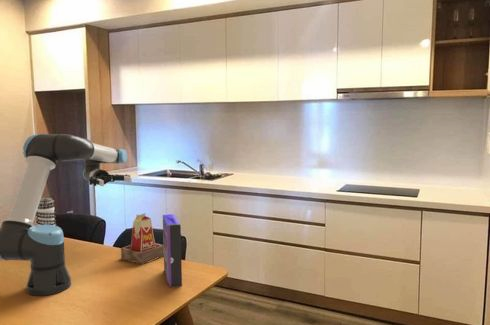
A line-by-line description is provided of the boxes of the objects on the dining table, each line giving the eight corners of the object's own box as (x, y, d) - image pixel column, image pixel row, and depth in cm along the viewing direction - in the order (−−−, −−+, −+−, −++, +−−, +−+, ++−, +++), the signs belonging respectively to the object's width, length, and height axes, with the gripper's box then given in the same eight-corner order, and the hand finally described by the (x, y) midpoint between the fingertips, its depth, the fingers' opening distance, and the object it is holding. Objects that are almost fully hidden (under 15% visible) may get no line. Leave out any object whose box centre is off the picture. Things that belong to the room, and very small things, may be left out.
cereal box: (164, 270, 168) (162, 214, 166) (175, 269, 170) (174, 213, 167) (169, 287, 152) (167, 225, 149) (181, 285, 153) (180, 224, 151)
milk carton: (157, 255, 185) (156, 212, 183) (139, 260, 178) (138, 215, 176) (147, 250, 191) (145, 209, 189) (129, 255, 185) (127, 212, 183)
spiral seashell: (37, 246, 201) (34, 197, 198) (58, 244, 204) (55, 196, 202) (37, 252, 192) (33, 201, 190) (58, 249, 196) (55, 199, 193)
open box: (164, 255, 187) (164, 245, 186) (141, 264, 175) (141, 253, 175) (144, 250, 194) (143, 240, 194) (121, 258, 183) (121, 248, 182)
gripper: (123, 181, 213) (141, 186, 197) (75, 186, 197) (90, 192, 181) (122, 167, 212) (141, 171, 196) (74, 171, 196) (90, 176, 180)
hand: (117, 181), depth 189 cm, fingers open, 13 cm apart
